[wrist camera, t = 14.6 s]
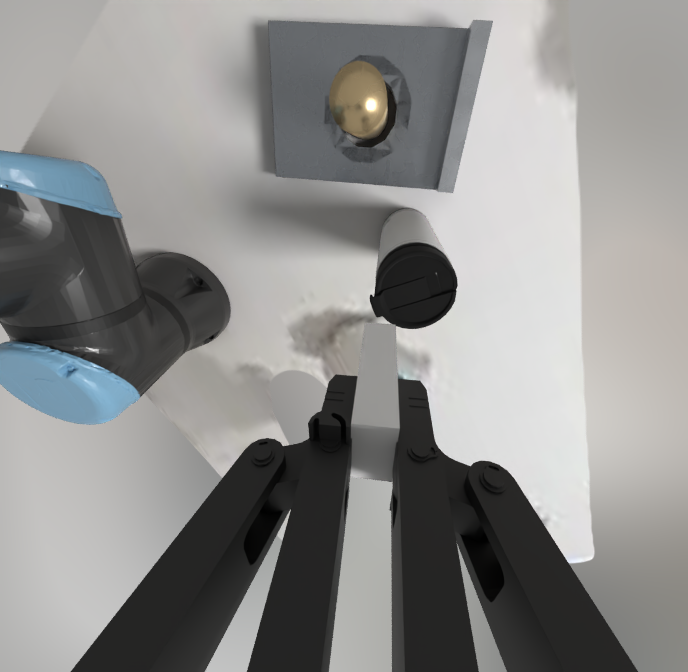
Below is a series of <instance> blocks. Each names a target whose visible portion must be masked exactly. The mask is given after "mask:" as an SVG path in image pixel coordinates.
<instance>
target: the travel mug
mask: <svg viewBox="0 0 688 672" xmlns="http://www.w3.org/2000/svg"><path fill="white" fill-rule="evenodd" d="M457 286H458V285H457V277H456V274H455V271H454V269H453V267H452V265H451V262H450V260H449V258H448V256H447V254H446V252H445V251H444V249H443V247H442V245H441V243H440V242H439V240H438V238H437V236H436V234H435V232H434V231H433V229H432V227H431V225H430V223H429V221H428V220H427V218H426V217H425V216H424V215H423V214H422V213H421V212H419V211H417V210H415V209H410V208H406V209H401V210H398V211H396V212H394V213H393V214H391V215H390V216H389V217H388V218H387V219H386V221H385V223H384V225H383V227H382V231H381V239H380V247H379V255H378V263H377V271H376V286H375V295H374V297H373V296H372V295H370V302H371V305H372V308H373V311H374V313H375V315H376V317H381V316H383V317H384V318H385V319H386V320H387V321H388V322H390V323H392V324H396V326H398V327H401V328H407V329H418V328H423V327H426V326H429V325H431V324H433V323H435V322H437V321H438V320H440V319H441V318H442V317H443V316H445V315H446V314H447V312H448V311H449V310H450V309H451V307H452V305H453V304H454V302H455V297H456V288H457Z"/></svg>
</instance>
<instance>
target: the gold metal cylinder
mask: <svg viewBox="0 0 688 672" xmlns="http://www.w3.org/2000/svg"><path fill="white" fill-rule="evenodd" d="M329 104H330V109H331V113H332V116H333V118H334V120H335V121H336V123H337V124H338V125H339V127H341V128H342V129H343V130H344V131H346V132H348V133H350V134H352V135H354V136H356V137H358V138H360V139H363V140H371V139H374V138H376V137H377V136H379V135H380V134H381V133H382V131H383V130H384V128H385V126H386V124H387V120H388V104H387V91H386V85H385V82H384V79H383V77H382V75H381V73H380V72H379V71H378V70H377V69H376V68H375V67H374V66H373V65H371V64H370V63H367V62H364V61H354V62H351V63H349V64H347V65H345V66H344V67H343V68H341V70H340V71H339V72H338V73H337V74H336V76H335V78H334V80H333V82H332V85H331V88H330V95H329Z"/></svg>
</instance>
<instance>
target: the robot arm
mask: <svg viewBox="0 0 688 672" xmlns="http://www.w3.org/2000/svg"><path fill="white" fill-rule="evenodd" d="M121 218H122V215H121V214H120V213H119V212H118V211H117V208H116V206H115V203H114V201H113V198H112V196H111V193H110V190H109V188H108V185H107V183H106V180H105V179H104V177H103V176H102V175H101V174H100V173H99V172H98V171H97V170H96V169H95V168H93V167H92V166H90V165H88V164H86V163H83V162H80V161H75V160H68V159H61V158H54V157H46V156H39V155H31V154H23V153H15V152H8V151H0V323H1V325H2V326H3V328H4V329H5V331H6V333H7V334H8V336H9V338H10V342H4V343H2V344H0V384H1V385H2V386H3V387H4V388H5V389H6V390H7V391H9V392H10V393H11V394H13V395H14V396H15V397H17V398H18V399H19V400H21V401H23V402H24V403H26V404H28V405H29V406H31V407H33V408H35V409H37V410H39V411H41V412H43V413H45V414H47V415H50V416H52V417H55V418H58V419H61V420H64V421H68V422H73V423H77V424H89V425H91V424H101V423H105V422H107V421H110V420H112V419H114V418H115V417H117V416H118V415H119V414H120V413H122V412H123V411H124V410H125V409H126V408H127V407H128V406H130V405H131V404H133V403H135V402H136V401H137V400H138V399H139V398H140V397H141V396H142V395H143V394H144V393H145V392H146V391H147V390H148V389H149V388H150V387H151V386H152V385H153V384H154V383H155V382H156V381H157V380H158V379H159V378H160V377H161V376H162V375H163V374H164V373H165V372H166V371H167V370H168V369H169V368H170V367H171V366H172V365H173V364H174V363H175V362H176V361H177V360H178V359H179V358H180V357H181V356H182V355H183V354H184V353H185V352H187V351H189V350H192V349H194V348H197V347H199V346H202V345H204V344H207V343H209V342H211V341H212V340H214V339H215V338H216V337H218V336H219V334H220V333H221V332H222V331H223V330H224V329H225V328H226V326H227V324H228V322H229V319H230V302H229V298H228V295H227V293H226V291H225V289H224V287H223V285H222V284H221V282H220V281H219V280H218V278H217V277H216V276H215V275H214V274H213V273H212V272H211V271H210V270H209V269H208V268H207V267H205V266H204V265H203V264H201V263H200V262H198V261H196V260H194V259H192V258H190V257H188V256H185V255H181V254H176V253H163V254H159V255H156V256H154V257H151V258H149V259H147V260H145V261H143V262H142V263H140V264H139V265H138V266H137V267H135V264H134V260H133V257H132V254H131V251H130V247H129V244H128V241H127V238H126V234H125V231H124V228H123V225H122V222H121ZM308 427H309V439H308V440H306V441H304V442H302V443H298V444H294V445H288V446H282V444H281V443H280V442H279V441H277V440H275V439H269V438H266V439H260V440H257V441H255V442H253V443H252V444H250V445H249V446H248V447H247V448H246V449H245V450H244V452H243V453H242V454H241V455H240V457H239V458H238V459H237V461H236V462H235V463H234V464H233V466H232V467H231V468H230V469H229V471H228V472H227V473H226V475H225V476H224V477H223V478H222V480H221V481H220V482H219V484H218V485H217V486H216V487H215V489H214V490H213V491H212V492H211V494H210V495H209V496H208V498H207V499H206V500H205V501H204V503H203V504H202V505H201V506H200V508H199V509H198V510H197V511H196V513H195V514H194V515H193V517H192V518H191V519H190V520H189V522H188V523H187V524H186V525H185V527H184V528H183V529H182V531H181V532H180V533H179V535H178V536H177V537H176V538H175V540H174V541H173V542H172V543H171V545H170V546H169V547H168V549H167V550H166V551H165V553H164V554H163V555H162V556H161V557H160V559H159V560H158V561H157V563H156V564H155V565H154V566H153V568H152V569H151V570H150V572H149V573H148V574H147V575H146V576H145V578H144V579H143V580H142V582H141V583H140V584H139V585H138V587H137V588H136V589H135V591H134V592H133V593H132V595H131V596H130V597H129V598H128V599H127V601H126V602H125V603H124V604H123V606H122V607H121V608H120V610H119V611H118V612H117V613H116V615H115V616H114V617H113V618H112V620H111V621H110V622H109V624H108V625H107V626H106V627H105V629H104V630H103V631H102V633H101V634H100V635H99V636H98V638H97V639H96V640H95V641H94V643H93V644H92V645H91V647H90V648H89V649H88V650H87V652H86V653H85V654H84V656H83V657H82V658H81V659H80V661H79V662H78V663H77V664H76V666H75V667H74V668H73V670H72V671H71V672H205V670H206V668H207V666H208V664H209V662H210V661H211V658H212V657H213V655H214V653H215V651H216V649H217V647H218V645H219V643H220V642H221V640H222V638H223V636H224V634H225V632H226V630H227V628H228V626H229V624H230V623H231V621H232V619H233V617H234V615H235V613H236V611H237V609H238V607H239V605H240V604H241V602H242V600H243V598H244V596H245V594H246V592H247V590H248V588H249V586H250V585H251V582H252V581H253V579H254V577H255V575H256V573H257V571H258V569H259V567H260V566H261V564H262V562H263V560H264V558H265V556H266V554H267V552H268V550H269V549H270V546H271V545H272V543H273V541H274V539H275V537H276V535H277V533H278V531H279V530H280V528H281V526H282V524H283V522H284V520H285V518H286V516H287V514H288V512H289V511H290V509H291V512H290V515H289V519H288V523H287V526H286V530H285V534H284V537H283V541H282V545H281V548H280V552H279V556H278V560H277V563H276V567H275V571H274V574H273V578H272V582H271V585H270V590H269V593H268V596H267V600H266V604H265V608H264V611H263V615H262V618H261V622H260V626H259V630H258V633H257V637H256V641H255V644H254V648H253V652H252V655H251V659H250V663H249V666H248V670H247V672H329V664H330V656H331V647H332V638H333V630H334V620H335V611H336V602H337V594H338V586H339V576H340V568H341V559H342V551H343V542H344V533H345V524H346V515H347V507H348V498H349V482H350V477H357V478H365V479H373V480H381V481H389V482H392V479H393V490H392V497H391V503H390V510H391V519H392V520H391V524H392V525H391V529H392V530H391V532H392V535H391V537H392V672H479V671H478V665H477V659H476V653H475V647H474V642H473V636H472V630H471V624H470V618H469V612H468V607H467V601H466V595H465V589H464V583H463V577H462V572H461V566H460V560H459V554H458V548H457V544H458V546H459V549H460V552H461V554H462V557H463V559H464V562H465V565H466V567H467V570H468V572H469V575H470V577H471V580H472V582H473V585H474V588H475V590H476V593H477V595H478V598H479V601H480V603H481V606H482V608H483V611H484V613H485V616H486V618H487V621H488V624H489V626H490V629H491V631H492V634H493V637H494V639H495V642H496V644H497V647H498V649H499V652H500V655H501V657H502V660H503V662H504V665H505V667H506V670H507V672H638V671H637V669H636V668H635V666H634V665H633V663H632V661H631V660H630V659H629V657H628V655H627V654H626V652H625V651H624V649H623V648H622V646H621V644H620V643H619V641H618V640H617V638H616V637H615V635H614V633H613V632H612V630H611V629H610V627H609V626H608V624H607V623H606V621H605V619H604V618H603V616H602V615H601V613H600V612H599V610H598V609H597V607H596V605H595V604H594V602H593V601H592V599H591V598H590V596H589V594H588V593H587V592H586V590H585V588H584V587H583V585H582V584H581V582H580V580H579V579H578V577H577V576H576V574H575V573H574V571H573V570H572V568H571V566H570V565H569V563H568V562H567V560H566V559H565V557H564V556H563V554H562V552H561V551H560V549H559V548H558V546H557V545H556V543H555V541H554V540H553V538H552V537H551V535H550V534H549V532H548V531H547V529H546V527H545V526H544V524H543V523H542V521H541V520H540V518H539V517H538V515H537V513H536V512H535V510H534V509H533V507H532V506H531V504H530V503H529V501H528V499H527V498H526V496H525V495H524V493H523V492H522V490H521V488H520V487H519V485H518V484H517V482H516V481H515V479H514V478H513V477H512V476H511V474H510V473H509V472H508V471H507V470H505V469H504V468H503V467H501V466H500V465H498V464H495V463H492V462H490V461H479V462H475V463H473V464H472V465H471V467H470V466H468V465H465V464H463V463H460V462H458V461H455V460H453V459H451V458H449V457H448V456H446V455H445V454H444V453H443V452H442V451H441V450H440V449H439V448H438V446H437V445H436V442H435V439H434V434H433V427H432V421H431V415H430V409H429V402H428V396H427V390H426V388H425V387H424V386H423V384H422V383H421V381H416V380H404V379H398V372H397V347H396V324H380V323H365V327H364V335H363V342H362V349H361V356H360V363H359V370H358V376H347V375H335V376H334V377H333V378H332V379H331V380H330V381H329V384H328V388H327V393H326V395H325V401H324V403H323V407H322V411H321V412H318V413H316V414H315V415H314V416H312V418H311V419H310V421H309V423H308ZM456 541H457V542H456Z"/></svg>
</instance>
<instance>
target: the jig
mask: <svg viewBox="0 0 688 672" xmlns="http://www.w3.org/2000/svg"><path fill="white" fill-rule="evenodd" d="M492 23H493V21H485V20H473V21H472V23H471V25H470V26H469V28H468V29H467V28H442V27H417V26H393V25H368V24H343V23H318V22H293V21H268V26H269V46H270V66H271V86H272V106H273V126H274V145H275V165H276V176H277V177H289V178H301V179H313V180H325V181H337V182H349V183H361V184H373V185H385V186H397V187H409V188H421V189H433V190H436V191H438V192H448V193H453V191H454V186H455V182H456V178H457V174H458V169H459V165H460V161H461V156H462V152H463V148H464V143H465V139H466V135H467V131H468V126H469V122H470V118H471V113H472V109H473V105H474V100H475V96H476V92H477V87H478V83H479V79H480V75H481V70H482V66H483V62H484V57H485V53H486V49H487V44H488V40H489V36H490V32H491V27H492ZM354 61H364V62H367V63H370V64H371V65H373V66H374V67H375V68H376V69H377V70H378V71H379V72H380V73H381V75H382V77H383V79H384V82H385V85H386V87H387V88H388V89H389V90H391V92H392V95H393V98H394V101H395V104H396V107H397V111H396V119H395V125H394V127H393V128H392V130H391V131H390V133H389V135H388V136H387V138H386V140H384V141H383V142H381V143H379V144H377V145H376V146H374V147H372V148H366V147H358V146H357V145H355V144H354V143H353V142H352V141H350V140H349V139H348V138H347V136H346V134H345V131H344V130H343V129H342V128H341V127H339V125H338V124H337V123H336V121H335V120H334V118H333V116H332V113H331V109H330V104H329V95H330V88H331V85H332V82H333V80H334V78H335V76H336V74H337V73H338V72H339V71H340V70H341V68H343V67H344V66H345V65H347V64H349V63H351V62H354Z"/></svg>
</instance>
